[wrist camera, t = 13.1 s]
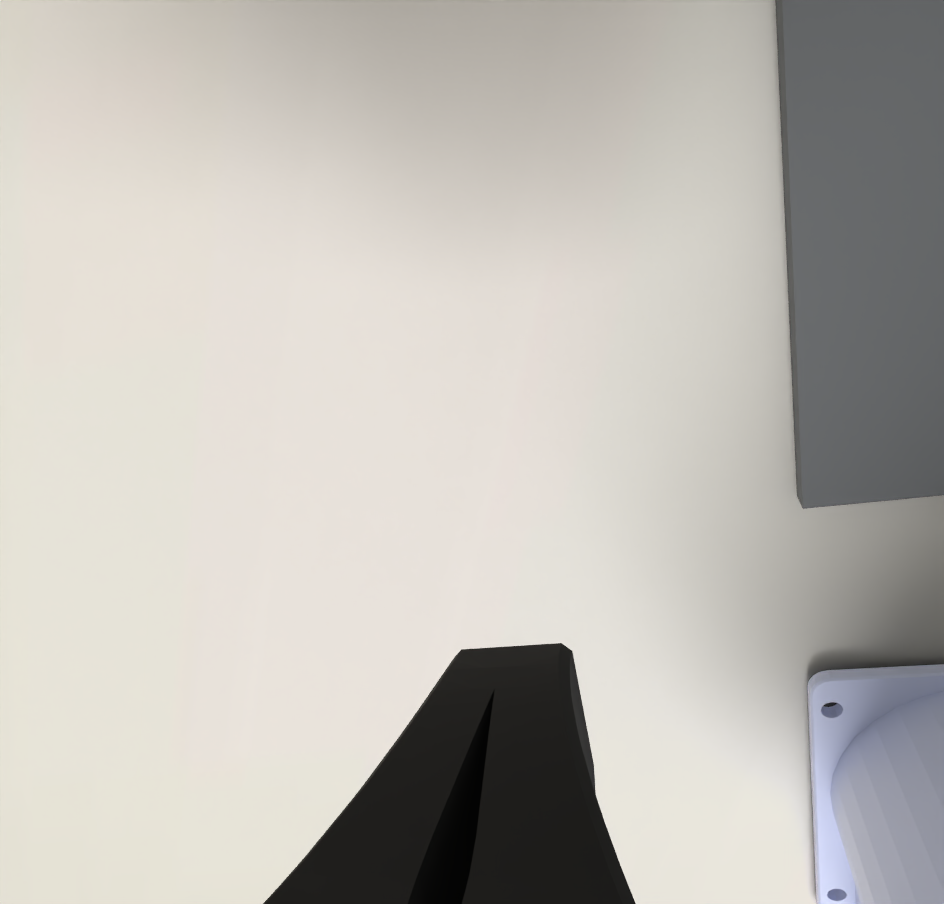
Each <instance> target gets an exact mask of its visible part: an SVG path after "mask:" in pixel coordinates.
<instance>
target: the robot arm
mask: <svg viewBox="0 0 944 904" xmlns="http://www.w3.org/2000/svg"><path fill="white" fill-rule="evenodd" d="M807 688H808V711H809V735H810V758H811V782H812V806H813V829H814V853H815V877H816V900H817V904H944V664H937V665H918V666H899V667H880V668H861V669H842V670H826V671H821V672H818V673H817V674H815V675H813V676H812V677H811V679H810V680H809V682H808V686H807ZM830 702H835V703H837V704H836V705H834V706H831V707H824V706H823V705H825V704H826V703H830ZM263 904H635V901H634V899H633V896H632V894H631V891H630V889H629V886H628V884H627V881H626V879H625V876H624V874H623V871H622V868H621V866H620V863H619V861H618V858H617V855H616V852H615V850H614V847H613V844H612V841H611V839H610V836H609V833H608V831H607V828H606V825H605V822H604V819H603V816H602V813H601V810H600V807H599V804H598V801H597V798H596V795H595V778H594V764H593V759H592V753H591V748H590V743H589V738H588V732H587V727H586V722H585V716H584V711H583V706H582V701H581V695H580V690H579V685H578V679H577V674H576V669H575V664H574V658H573V653H572V651H571V650H570V649H569V648H567V647H566V646H564V645H563V644H562V643H558V644H542V645H527V646H511V647H495V648H480V649H464V650H461V651H460V652H459V653H458V654H457V655H456V656H455V658H454V659H453V660H452V662H451V663H450V665H449V666H448V668H447V669H446V670H445V672H444V673H443V675H442V676H441V678H440V679H439V681H438V682H437V684H436V685H435V687H434V688H433V690H432V691H431V692H430V694H429V695H428V697H427V698H426V700H425V701H424V703H423V704H422V705H421V707H420V708H419V710H418V711H417V713H416V714H415V715H414V717H413V718H412V720H411V721H410V723H409V724H408V725H407V727H406V728H405V730H404V731H403V732H402V734H401V735H400V737H399V738H398V739H397V741H396V742H395V743H394V745H393V746H392V747H391V749H390V750H389V751H388V753H387V754H386V756H385V757H384V758H383V760H382V761H381V762H380V764H379V765H378V766H377V768H376V769H375V770H374V772H373V773H372V774H371V776H370V777H369V778H368V780H367V781H366V782H365V784H364V785H363V786H362V788H361V789H360V790H359V792H358V793H357V794H356V795H355V797H354V798H353V799H352V800H351V802H350V803H349V804H348V805H347V807H346V808H345V809H344V810H343V811H342V813H341V814H340V815H339V816H338V817H337V819H336V820H335V821H334V822H333V824H332V825H331V826H330V827H329V828H328V830H327V831H326V832H325V833H324V835H323V836H322V837H321V838H320V839H319V841H318V842H317V843H316V844H315V845H314V847H313V848H312V849H311V850H310V852H309V853H308V854H307V855H306V856H305V858H304V859H303V860H302V861H301V862H300V863H299V864H298V866H297V867H296V868H295V869H294V870H293V871H292V872H291V874H290V875H289V876H288V877H287V878H286V879H285V880H284V881H283V883H282V884H281V885H280V886H279V887H278V888H277V889H276V890H275V891H274V893H273V894H272V895H271V896H270V897H269V898H268V899H267V900H266V901H265V902H264V903H263Z"/></svg>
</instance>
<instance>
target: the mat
mask: <svg viewBox="0 0 944 904" xmlns="http://www.w3.org/2000/svg"><path fill="white" fill-rule="evenodd" d="M776 18H777V41H778V64H779V87H780V110H781V133H782V156H783V179H784V202H785V225H786V248H787V271H788V294H789V317H790V340H791V363H792V386H793V409H794V432H795V454H796V477H797V496H798V499H799V501H800V503H801V505H802V508H803V509H804V508H814V507H825V506H835V505H846V504H856V503H866V502H877V501H887V500H898V499H908V498H918V497H929V496H939V495H944V0H776Z"/></svg>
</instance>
